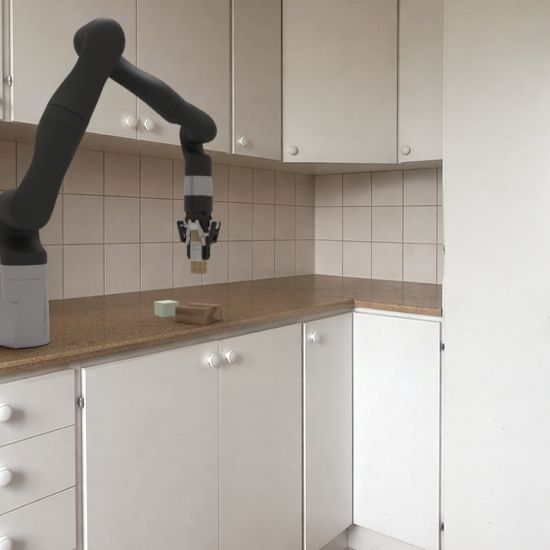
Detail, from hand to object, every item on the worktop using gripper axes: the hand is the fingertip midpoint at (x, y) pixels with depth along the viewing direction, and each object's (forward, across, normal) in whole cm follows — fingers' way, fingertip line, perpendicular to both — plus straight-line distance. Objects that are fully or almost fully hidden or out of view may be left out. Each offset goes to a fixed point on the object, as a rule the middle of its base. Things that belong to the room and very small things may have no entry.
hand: (198, 259), depth 155 cm
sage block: (+17, -13, +1) cm, 21 cm away
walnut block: (+16, 0, 0) cm, 16 cm away
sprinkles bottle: (+4, 0, 0) cm, 4 cm away
